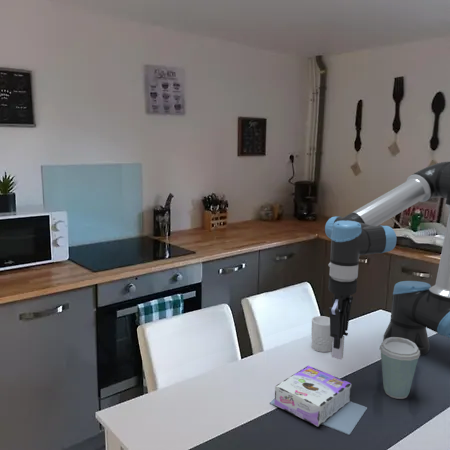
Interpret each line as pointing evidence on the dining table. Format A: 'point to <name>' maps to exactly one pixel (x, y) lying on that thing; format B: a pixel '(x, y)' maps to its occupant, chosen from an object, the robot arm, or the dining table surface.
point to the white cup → (321, 334)
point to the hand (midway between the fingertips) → (337, 357)
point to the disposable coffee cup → (398, 365)
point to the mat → (343, 417)
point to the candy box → (312, 395)
